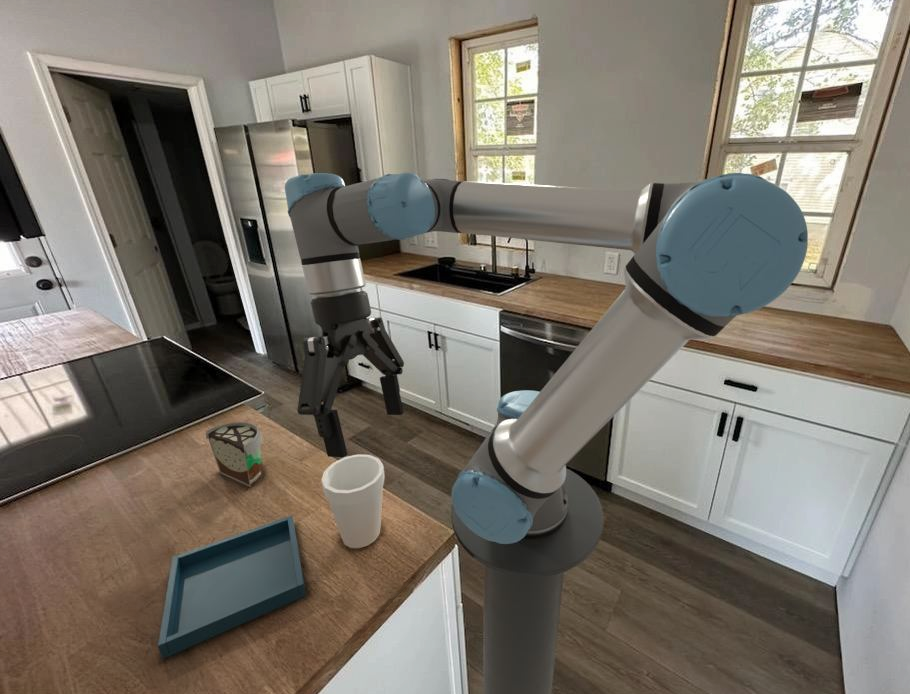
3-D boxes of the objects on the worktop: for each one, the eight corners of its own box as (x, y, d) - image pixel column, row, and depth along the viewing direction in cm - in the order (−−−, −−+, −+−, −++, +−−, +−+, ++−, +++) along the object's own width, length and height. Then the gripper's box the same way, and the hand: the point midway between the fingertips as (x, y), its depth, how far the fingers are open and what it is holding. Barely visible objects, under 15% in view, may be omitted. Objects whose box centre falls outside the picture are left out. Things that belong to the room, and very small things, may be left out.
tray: (294, 525, 72) (292, 514, 71) (306, 595, 61) (303, 583, 60) (176, 568, 64) (171, 556, 63) (162, 659, 52) (157, 646, 51)
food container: (283, 470, 86) (275, 430, 82) (255, 489, 80) (245, 446, 77) (244, 454, 90) (234, 415, 87) (215, 471, 85) (204, 430, 81)
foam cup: (400, 525, 73) (395, 465, 69) (361, 565, 65) (351, 501, 61) (361, 505, 77) (354, 448, 73) (320, 541, 69) (308, 479, 65)
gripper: (372, 284, 70) (396, 400, 74) (236, 311, 47) (282, 477, 52) (409, 280, 68) (432, 400, 72) (285, 306, 45) (329, 481, 49)
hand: (369, 433), depth 62 cm, fingers open, 13 cm apart
